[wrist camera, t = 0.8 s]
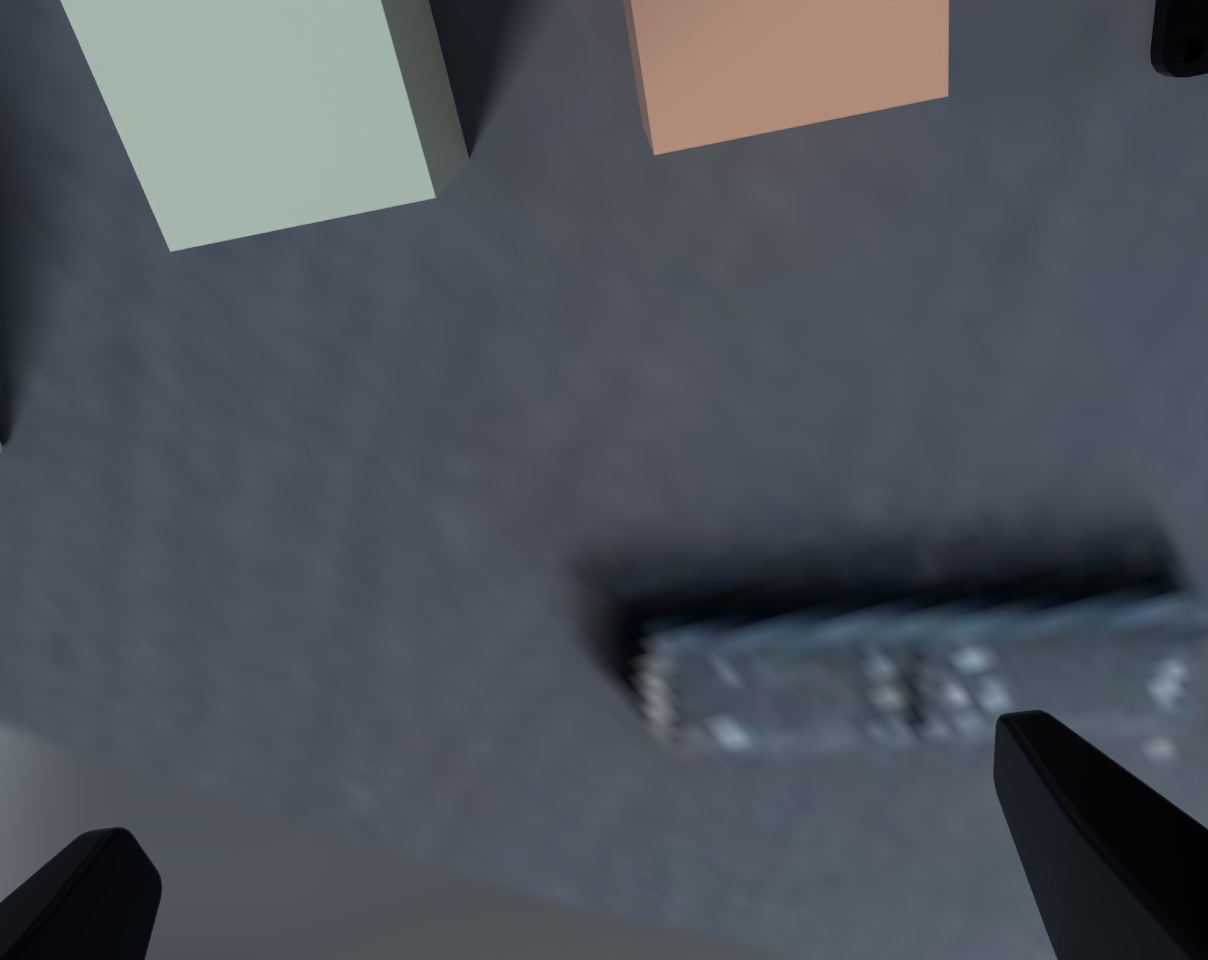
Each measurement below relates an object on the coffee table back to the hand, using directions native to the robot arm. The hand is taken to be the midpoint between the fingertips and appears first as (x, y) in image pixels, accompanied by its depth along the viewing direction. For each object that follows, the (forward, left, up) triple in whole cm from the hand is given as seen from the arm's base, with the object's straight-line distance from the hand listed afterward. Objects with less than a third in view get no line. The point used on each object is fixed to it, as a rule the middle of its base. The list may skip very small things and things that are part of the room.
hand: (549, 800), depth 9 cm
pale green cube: (+3, -7, -12) cm, 14 cm away
